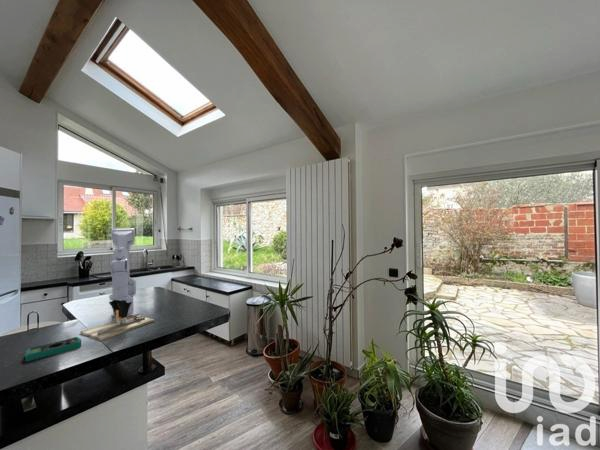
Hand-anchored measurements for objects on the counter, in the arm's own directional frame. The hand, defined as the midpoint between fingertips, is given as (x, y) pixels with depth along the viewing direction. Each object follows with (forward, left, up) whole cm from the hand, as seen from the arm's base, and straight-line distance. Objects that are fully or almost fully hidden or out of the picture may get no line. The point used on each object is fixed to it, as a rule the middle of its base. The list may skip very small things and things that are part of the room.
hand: (121, 316), depth 119 cm
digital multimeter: (+2, -24, -5) cm, 25 cm away
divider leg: (+1, 0, -3) cm, 3 cm away
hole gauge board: (0, -1, -4) cm, 5 cm away
